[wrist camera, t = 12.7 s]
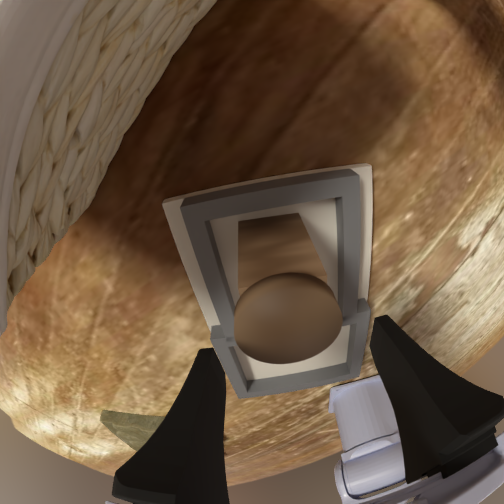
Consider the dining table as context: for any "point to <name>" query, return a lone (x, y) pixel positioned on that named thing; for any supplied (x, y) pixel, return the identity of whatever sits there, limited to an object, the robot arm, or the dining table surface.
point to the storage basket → (71, 110)
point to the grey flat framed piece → (325, 242)
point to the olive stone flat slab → (131, 426)
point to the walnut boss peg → (282, 293)
